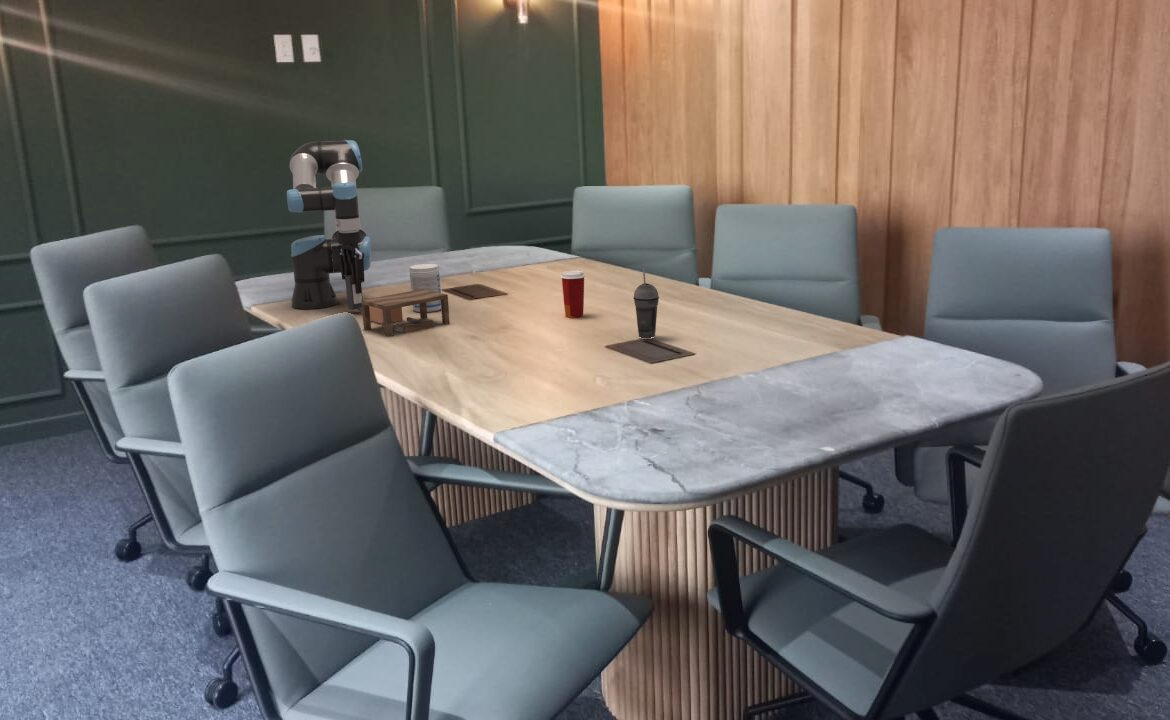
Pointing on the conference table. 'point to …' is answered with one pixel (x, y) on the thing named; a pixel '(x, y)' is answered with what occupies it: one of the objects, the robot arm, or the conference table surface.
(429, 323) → the shelf
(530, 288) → the conference table surface
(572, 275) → the paper cup
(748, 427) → the conference table surface
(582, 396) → the conference table surface
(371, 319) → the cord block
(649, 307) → the beverage cup
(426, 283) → the supplement tub
